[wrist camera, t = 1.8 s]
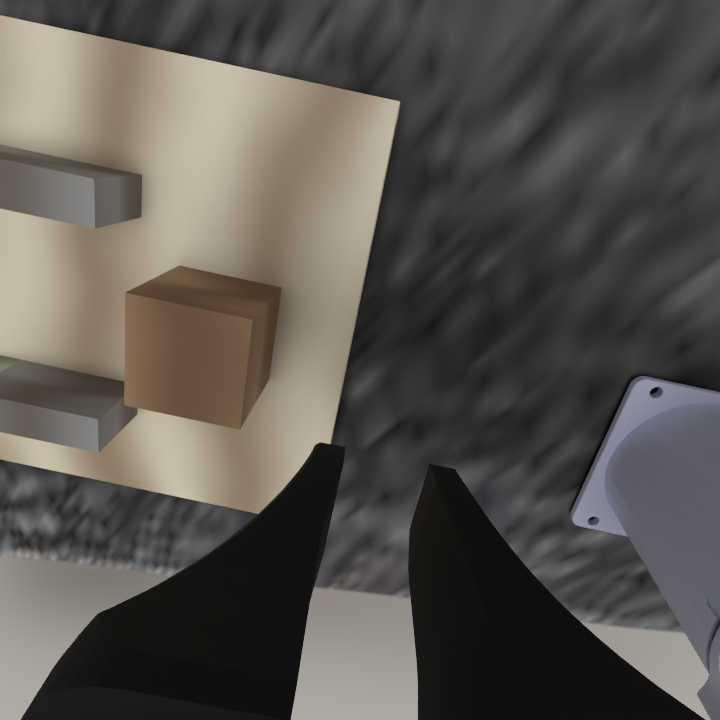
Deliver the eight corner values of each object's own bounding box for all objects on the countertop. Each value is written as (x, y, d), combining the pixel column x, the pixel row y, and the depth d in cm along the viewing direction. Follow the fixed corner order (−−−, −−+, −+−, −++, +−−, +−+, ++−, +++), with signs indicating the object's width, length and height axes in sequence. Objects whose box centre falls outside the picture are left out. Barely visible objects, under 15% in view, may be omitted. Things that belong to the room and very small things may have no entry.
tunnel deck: (400, 106, 18) (399, 90, 13) (319, 497, 25) (301, 575, 20) (-332, -51, 18) (-585, -122, 13) (-205, 387, 25) (-343, 439, 20)
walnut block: (281, 287, 19) (252, 319, 15) (269, 380, 20) (239, 429, 17) (178, 265, 19) (124, 292, 15) (174, 360, 20) (124, 405, 17)
